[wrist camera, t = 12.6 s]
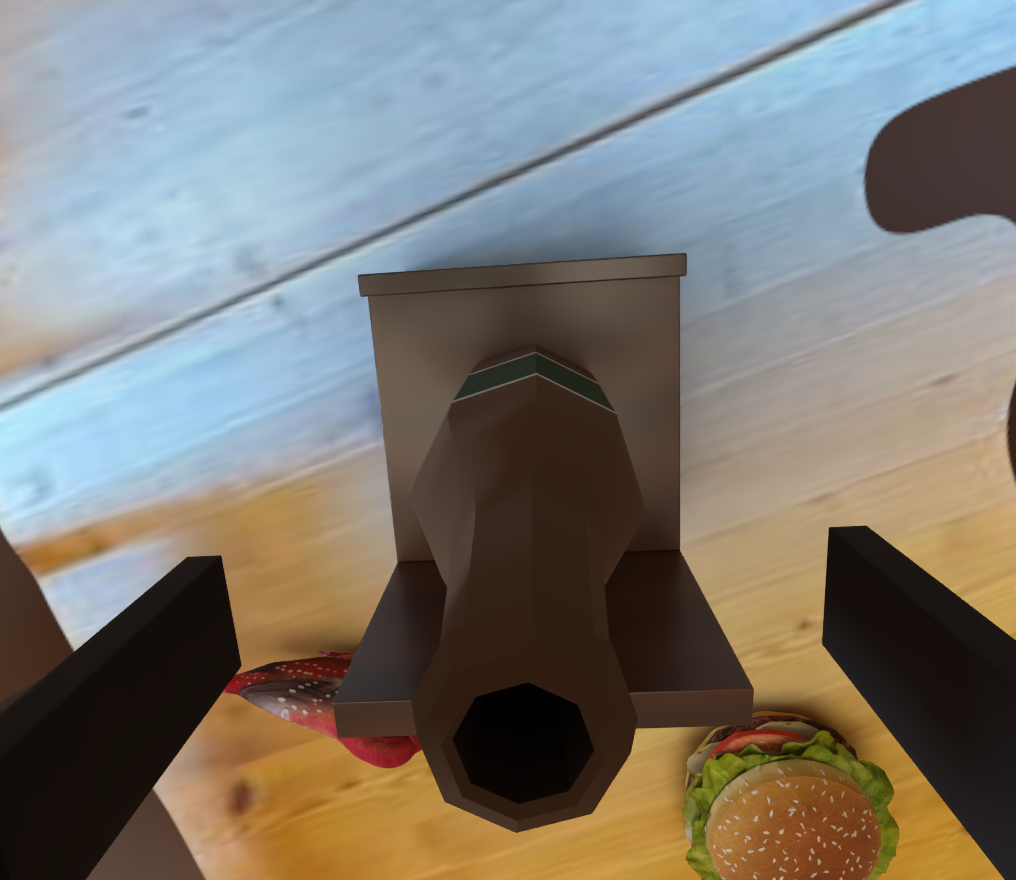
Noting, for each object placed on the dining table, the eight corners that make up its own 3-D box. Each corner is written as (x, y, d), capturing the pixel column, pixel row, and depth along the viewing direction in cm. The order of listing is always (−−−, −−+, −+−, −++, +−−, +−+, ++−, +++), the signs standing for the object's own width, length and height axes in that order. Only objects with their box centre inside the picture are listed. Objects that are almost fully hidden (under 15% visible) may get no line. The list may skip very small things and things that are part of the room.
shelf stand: (400, 274, 41) (269, 275, 20) (647, 257, 40) (766, 241, 20) (426, 526, 45) (337, 738, 24) (650, 516, 44) (753, 725, 24)
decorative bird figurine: (447, 685, 48) (425, 790, 38) (202, 651, 48) (118, 747, 38) (451, 650, 47) (430, 747, 37) (203, 615, 47) (118, 703, 37)
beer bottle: (614, 346, 32) (823, 534, 9) (599, 497, 34) (740, 970, 11) (455, 335, 33) (265, 494, 9) (449, 487, 34) (277, 931, 11)
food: (667, 860, 51) (691, 965, 43) (672, 698, 47) (699, 781, 39) (852, 860, 50) (910, 968, 42) (870, 696, 47) (937, 780, 39)
